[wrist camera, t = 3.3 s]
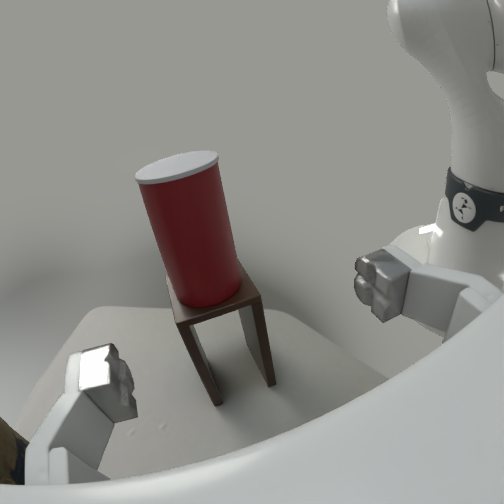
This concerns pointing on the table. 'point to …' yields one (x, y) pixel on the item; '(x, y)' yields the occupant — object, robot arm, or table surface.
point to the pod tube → (192, 226)
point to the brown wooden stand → (242, 300)
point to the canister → (12, 455)
